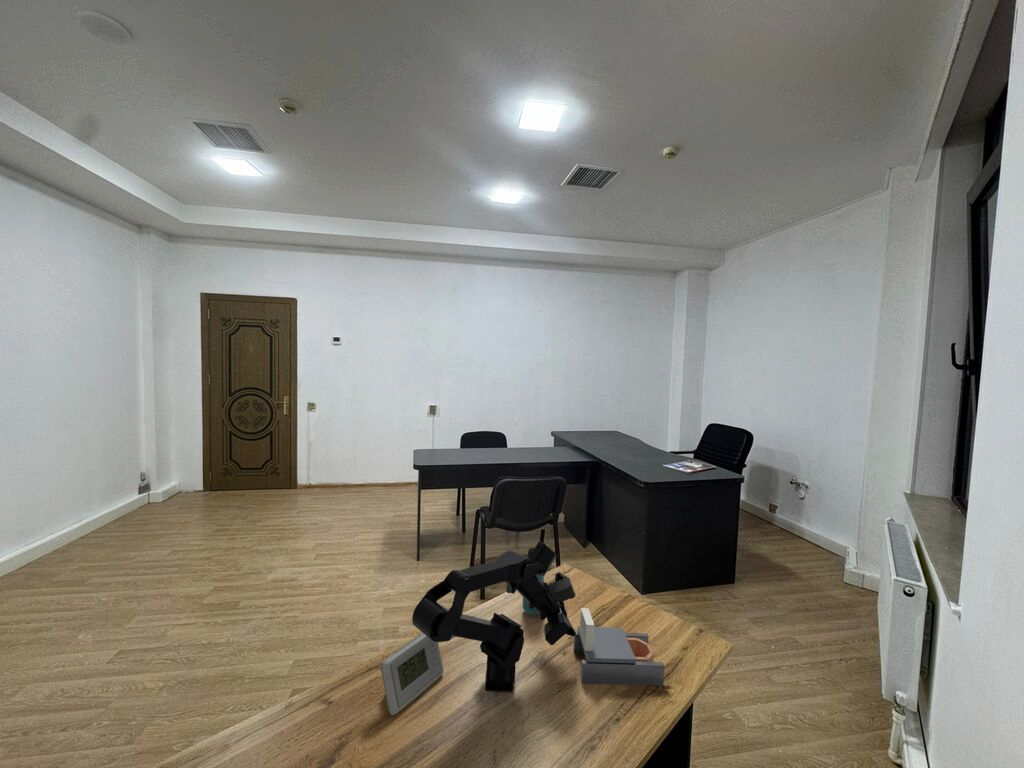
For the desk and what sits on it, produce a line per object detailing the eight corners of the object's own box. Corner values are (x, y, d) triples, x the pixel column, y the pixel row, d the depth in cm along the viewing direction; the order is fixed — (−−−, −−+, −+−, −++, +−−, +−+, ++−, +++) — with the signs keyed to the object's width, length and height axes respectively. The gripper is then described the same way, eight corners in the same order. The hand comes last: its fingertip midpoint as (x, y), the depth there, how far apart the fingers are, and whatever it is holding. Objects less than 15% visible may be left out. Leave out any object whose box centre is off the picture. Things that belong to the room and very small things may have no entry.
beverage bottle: (543, 619, 123) (546, 554, 122) (521, 618, 123) (524, 553, 122) (542, 607, 130) (545, 545, 129) (521, 606, 130) (524, 544, 129)
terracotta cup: (624, 678, 101) (625, 658, 101) (615, 655, 109) (616, 637, 109) (656, 679, 101) (657, 659, 101) (645, 656, 109) (646, 638, 109)
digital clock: (389, 722, 86) (390, 673, 85) (370, 696, 92) (371, 650, 92) (452, 683, 97) (453, 639, 97) (431, 662, 104) (432, 621, 103)
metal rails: (581, 683, 99) (582, 663, 98) (573, 649, 111) (574, 631, 110) (663, 685, 99) (664, 665, 99) (646, 651, 111) (647, 633, 111)
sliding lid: (586, 661, 98) (588, 631, 98) (577, 630, 110) (579, 602, 110) (636, 663, 99) (637, 632, 98) (621, 631, 111) (623, 603, 110)
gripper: (562, 589, 94) (607, 637, 95) (552, 552, 113) (589, 593, 114) (527, 621, 94) (572, 669, 95) (522, 579, 113) (560, 619, 114)
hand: (574, 634), depth 104 cm, fingers closed
